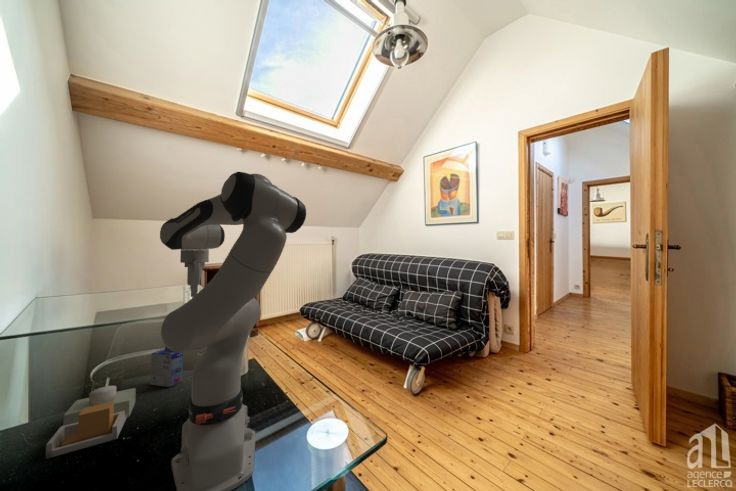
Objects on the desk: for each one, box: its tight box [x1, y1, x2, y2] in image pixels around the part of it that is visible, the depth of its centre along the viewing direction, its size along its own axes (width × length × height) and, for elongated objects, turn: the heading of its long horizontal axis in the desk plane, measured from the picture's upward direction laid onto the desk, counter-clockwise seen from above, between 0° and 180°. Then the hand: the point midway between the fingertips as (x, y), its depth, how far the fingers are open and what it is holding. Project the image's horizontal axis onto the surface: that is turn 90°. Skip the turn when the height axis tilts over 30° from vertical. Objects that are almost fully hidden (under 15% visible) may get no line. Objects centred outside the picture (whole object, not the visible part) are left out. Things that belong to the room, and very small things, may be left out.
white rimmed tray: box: [45, 385, 137, 460], centre depth 77 cm, size 20×14×8 cm
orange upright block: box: [60, 401, 114, 447], centre depth 72 cm, size 4×9×8 cm, turn 122°
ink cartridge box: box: [149, 345, 184, 388], centre depth 103 cm, size 10×6×14 cm, turn 78°
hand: (194, 294), depth 98 cm, fingers open, 8 cm apart
